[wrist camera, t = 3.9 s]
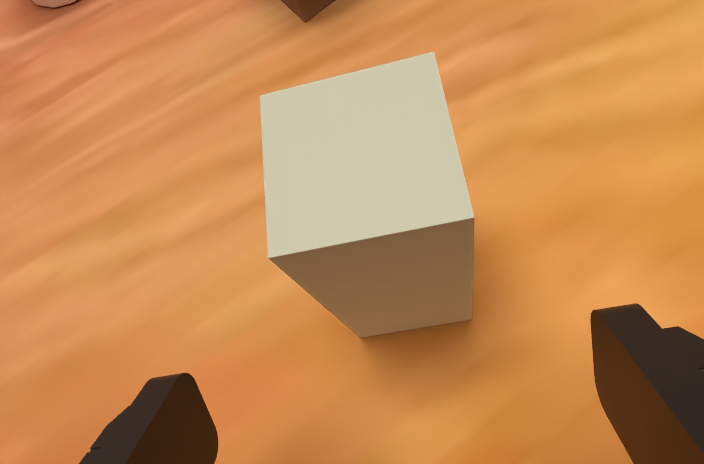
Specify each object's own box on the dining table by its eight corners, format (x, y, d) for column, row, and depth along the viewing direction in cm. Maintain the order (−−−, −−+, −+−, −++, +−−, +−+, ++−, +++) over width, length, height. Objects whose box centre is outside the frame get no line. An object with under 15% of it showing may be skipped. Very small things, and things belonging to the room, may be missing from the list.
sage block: (472, 319, 19) (474, 217, 10) (360, 337, 20) (268, 258, 11) (449, 216, 21) (433, 51, 12) (347, 236, 22) (259, 95, 13)
